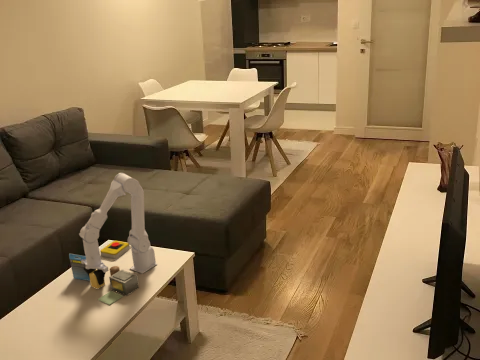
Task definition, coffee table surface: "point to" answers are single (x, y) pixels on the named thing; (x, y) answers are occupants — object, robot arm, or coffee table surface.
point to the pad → (110, 297)
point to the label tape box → (78, 267)
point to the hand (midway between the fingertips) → (97, 282)
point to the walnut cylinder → (114, 270)
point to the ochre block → (94, 281)
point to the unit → (124, 282)
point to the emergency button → (114, 250)
